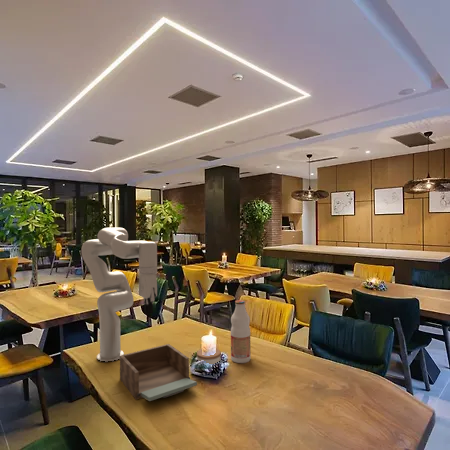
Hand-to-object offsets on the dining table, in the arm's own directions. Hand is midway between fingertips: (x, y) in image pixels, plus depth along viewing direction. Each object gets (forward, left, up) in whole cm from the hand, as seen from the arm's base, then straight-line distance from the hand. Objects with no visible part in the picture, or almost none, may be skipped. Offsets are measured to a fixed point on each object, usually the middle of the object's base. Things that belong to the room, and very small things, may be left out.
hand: (148, 313), depth 138 cm
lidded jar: (+10, +24, -27) cm, 38 cm away
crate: (+6, 0, -27) cm, 28 cm away
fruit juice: (+10, +42, -27) cm, 51 cm away
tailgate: (+16, 0, -25) cm, 30 cm away
